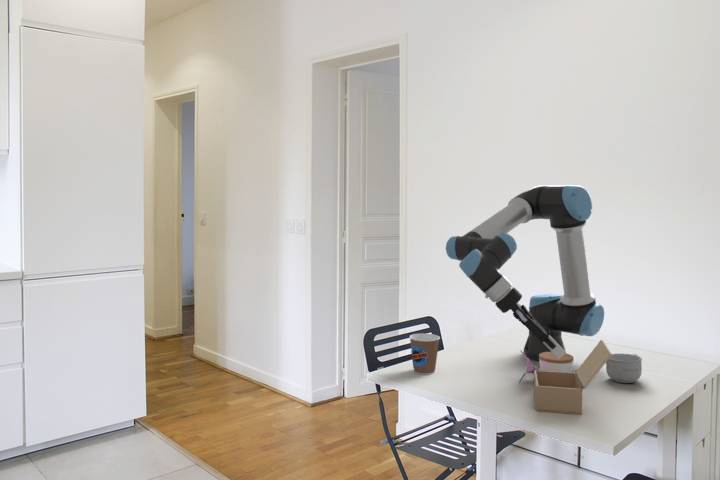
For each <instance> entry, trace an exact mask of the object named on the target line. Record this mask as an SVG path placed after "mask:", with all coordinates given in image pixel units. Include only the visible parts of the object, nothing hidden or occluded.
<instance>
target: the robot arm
mask: <svg viewBox="0 0 720 480" xmlns="http://www.w3.org/2000/svg"><path fill="white" fill-rule="evenodd" d="M592 210H593V201H592V197H591V195H590V193H589V191H588V190H587V189H585V187H583V186H582V185H574V184H560V185H559V184H557V185H554V184H553V185H545V184H544V185H543V184H542V185H537V186H534V187H531V188H529V189H527V190H525V191H523V192H520V193H519V194H517V195H516V196H514V197H513V198H511V199H510V200H509V201H508V203H507V205H506V206H505V207H503V208H502V209H500V210H498V212H496V213H495V214H493V215H492V216H491V217H488V219H486V220H484V221H483V222H481V223H480V224H479V225H476V227H474V228H473V229H472V230H470V231H468V232H466V233H465V234H464V235H461V236H459V235H457V236H456V235H455V236H451V237H449V238H448V239H447V241H446V245H445V252H446V255H447V257H448V258H449V259H451V260H456V261H458V262H459V264H458V267H459V268H460V270H461V271H462V272H463V273H464V274H465V276H466V277H467V278H468V279H469V280H470V281H471V282H472V283H473V284H474V285H476V287H477V288H478V289H479V290H480V291H482V293H483V294H484V298H485V299H488V298H489V300H490V301H491V302H492V303H495V306H496V307H497V309H498V310H499V311H500V312H501V313H503V314H505V313H508V312H509V311H510V310H511V312H513V313H512V315H513V317H514V318H515V319H516V320H518V321H519V322H520V323H521V324H522V326H525V327H526V328H527V329H528V336H527V339H526V342H525V345H524V347H523V353H524V354H525V355H526V357H527V358H528V359H529V360H535V361H539V354H540V353H543V352H552V353H553V354H554V355H555V356H556V357H557V358H558V359H560V358H561V357H562V356H563V355H564V354H565V353H566V354H567V351H566V348H565V347H566V346H565V344H564V341H563V338H562V334H563V333H567V334H568V333H569V334H573V335H578V336H581V337H584V336H585V337H594V336H596V335H597V334H598V333H599V332H600V330H601V328H602V325H603V324H604V318H605V309H604V307H603V305H601V304H599V303H597V302H596V295H595V294H593V293H592V292H591V291H590V289H591V288H590V282H589V273H588V263H587V255H586V248H585V238H584V232H583V230H584V229H583V227H584V226H585V225H586V224H587V220H588V219H589V218H590V217H591V215H592ZM531 220H549V225H550V228H551V229H553V230H554V231H555V234H556V241H557V250H558V258H559V265H560V272H561V281H562V287H563V295H562V293H561V294H560V293H547V294H536V295H533V296H531V297H530V299H529V306H528V308H527V307H526V305H524V304H522V305H521V304H520V303H519V302H520V301H521V299H522V298H523V294H522V293H520V291H519V290H518V289H517V288H515V287H512V286H513V284H512V283H511V282H510V281H509V280H508V279H507V277H506V276H504V275H503V274H502V273H501V272H500V271H499V270H500V269H501V268H502V267H503V266H504V265H505V264H506V263H507V262H508V261H509V259H511V258H512V256H513V255H514V254H515V252H516V251H517V247H518V245H517V241H516V240H515V238H514V237H513V236H512V235H510V234H509V233H510V232H511V231H513V230H514V229H515V228H517V227H518V226H519V225H520V224H526V223H529V222H530V221H531Z"/></svg>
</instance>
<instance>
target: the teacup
mask: <svg viewBox="0 0 720 480" xmlns="http://www.w3.org/2000/svg"><path fill="white" fill-rule="evenodd" d="M611 354H612V356H611V357H610V358H609V359H608V361H607V362H606V363H605V366H606V368H605V369H606V374H607V376H608V377H609V378H610V379H611V380H612V381H614V382H615V383H621V384H631V383H632V384H633V383H636V382H637V381H638V380H639V379H640V378H641V376H642V371H643V369H642V361H643V358H642V357H641V356H639V355H638V354H637V353H632V354H631V353H611Z"/></svg>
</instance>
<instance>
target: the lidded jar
mask: <svg viewBox="0 0 720 480" xmlns="http://www.w3.org/2000/svg"><path fill="white" fill-rule="evenodd" d="M538 361H539V362H538V363H539V369H540V370H541V371H553V372H568V373H573V372H572V371H573V367H574V356H573V355H572V354H569V353H567V352H566V353H565V354H564V355H563V356H562V357H561V358H560V359H558V358H557V357H556V356H555V355H554V354H553V353H552V352H543V353H540V354H539V360H538Z"/></svg>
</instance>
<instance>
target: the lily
mask: <svg viewBox="0 0 720 480" xmlns="http://www.w3.org/2000/svg"><path fill="white" fill-rule="evenodd" d="M519 351H520V352H521V354H522V355H523V357H524V358H525V360H526V361H523V364H525V372H524V373H523V374H522V376H521V378H520V379H519V382H518V383H519V384H520V383H521V381H522V379H523V378H524V377H525V375H526V374H531V375H533V376H534V370H537V371H541V370H540V367H538V366H537V365H536V364H533V362H532V361H531V359H530V358H527V357H526V355H525V354H524V351H523V350H521V349H519Z"/></svg>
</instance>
